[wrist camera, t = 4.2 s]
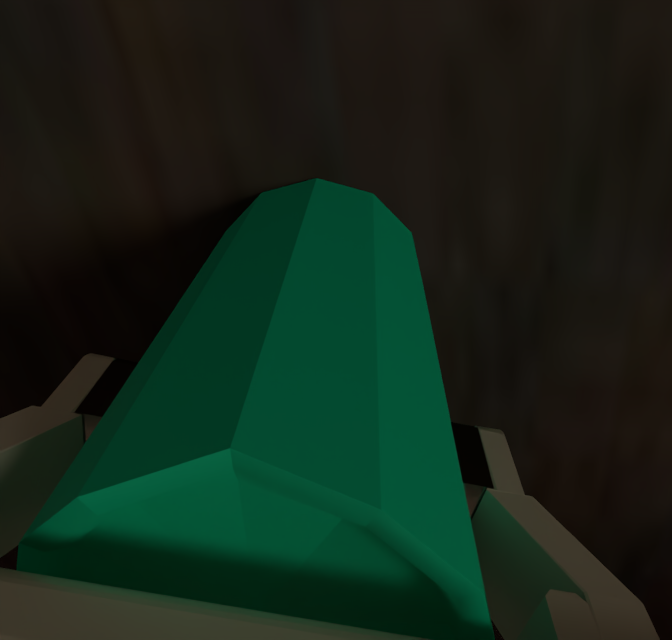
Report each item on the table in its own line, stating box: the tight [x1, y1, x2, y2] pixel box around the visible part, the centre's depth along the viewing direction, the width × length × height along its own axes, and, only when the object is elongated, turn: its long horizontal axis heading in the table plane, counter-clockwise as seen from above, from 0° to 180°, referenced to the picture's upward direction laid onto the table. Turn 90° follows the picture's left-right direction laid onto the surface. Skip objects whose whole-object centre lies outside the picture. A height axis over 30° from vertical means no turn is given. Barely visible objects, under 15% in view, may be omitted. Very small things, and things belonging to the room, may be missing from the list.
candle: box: [16, 178, 495, 640], centre depth 10 cm, size 6×6×12 cm
